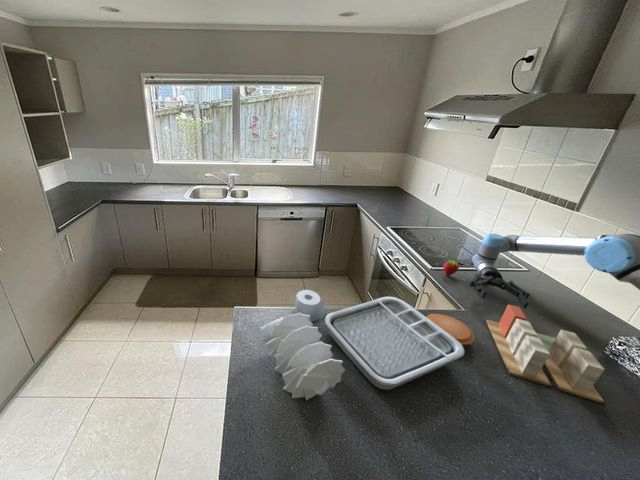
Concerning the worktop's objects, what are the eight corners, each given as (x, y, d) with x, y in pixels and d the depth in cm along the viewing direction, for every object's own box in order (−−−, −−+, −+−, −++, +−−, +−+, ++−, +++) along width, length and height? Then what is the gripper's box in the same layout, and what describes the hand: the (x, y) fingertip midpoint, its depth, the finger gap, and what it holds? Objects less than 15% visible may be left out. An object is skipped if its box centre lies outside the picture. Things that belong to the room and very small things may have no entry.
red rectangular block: (498, 324, 109) (507, 304, 106) (509, 327, 108) (519, 307, 104) (504, 336, 104) (514, 315, 100) (515, 340, 102) (527, 318, 98)
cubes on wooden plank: (523, 331, 108) (535, 308, 104) (557, 340, 104) (571, 317, 100) (557, 389, 86) (575, 363, 81) (602, 403, 82) (623, 376, 78)
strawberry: (458, 277, 142) (464, 260, 138) (448, 280, 139) (455, 263, 135) (446, 271, 147) (452, 254, 143) (437, 274, 144) (443, 257, 140)
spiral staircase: (291, 349, 101) (331, 413, 79) (250, 343, 93) (281, 413, 71) (314, 307, 98) (362, 362, 76) (273, 297, 90) (313, 355, 68)
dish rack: (316, 330, 105) (318, 313, 102) (389, 308, 118) (394, 292, 115) (378, 408, 78) (384, 389, 75) (465, 369, 91) (473, 351, 88)
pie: (477, 357, 96) (483, 346, 94) (427, 344, 100) (430, 333, 98) (464, 327, 109) (468, 317, 107) (419, 316, 114) (423, 306, 112)
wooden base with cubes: (486, 321, 112) (496, 299, 108) (517, 329, 109) (528, 307, 104) (509, 374, 90) (523, 348, 86) (549, 386, 86) (566, 360, 82)
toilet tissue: (330, 315, 113) (333, 298, 109) (303, 325, 107) (305, 307, 104) (316, 302, 120) (318, 285, 117) (290, 310, 114) (291, 293, 111)
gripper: (519, 288, 127) (540, 317, 109) (455, 273, 136) (464, 298, 118) (526, 274, 124) (549, 301, 106) (460, 260, 133) (470, 284, 115)
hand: (504, 300), depth 112 cm, fingers open, 13 cm apart
